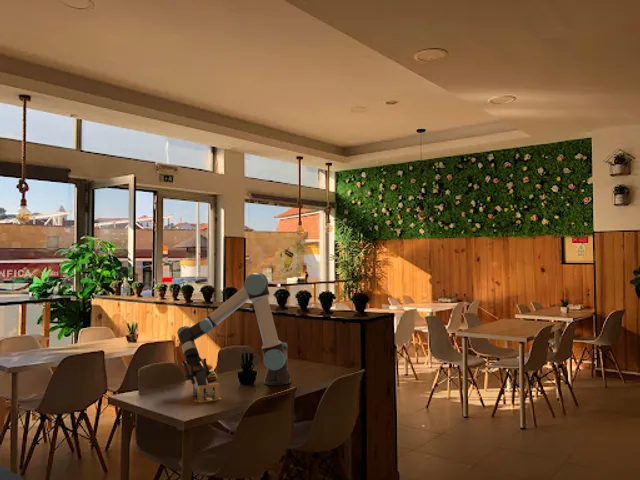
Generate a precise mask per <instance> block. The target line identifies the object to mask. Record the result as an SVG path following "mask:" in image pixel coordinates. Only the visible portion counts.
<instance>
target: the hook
mask: <svg viewBox="0 0 640 480" xmlns="http://www.w3.org/2000/svg"><path fill="white" fill-rule="evenodd" d="M193 377H195V378H196V381H197V384H198V386H199V385H206V371H205V370H203V369H201V370H198V369H195V370H194V369H193ZM192 388H193V389H192V390H193V391H192V394H193V395H195V396H197V390H196V389H195V386H194V384H192ZM204 396H206V397H207V398H208V397H210V398H212V399H214V398H215V391H213V390H212V391H211V393H210V392H208V391H207V389H206V388H204Z"/></svg>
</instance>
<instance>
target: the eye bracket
mask: <svg viewBox="0 0 640 480" xmlns="http://www.w3.org/2000/svg"><path fill="white" fill-rule="evenodd" d="M204 388H207V389H209V388H212V391H215V398H214V399H212V398H210V397H208V396H207V397H205V395H204ZM196 397H197V398H196V399H194V401H195V402H196V403H198V404H202V403H203V404H204V403H209V402H214V401H215V402H216V401H221V400H223V399H222V397H220V383H218V382H213V383H208V384H206V385H199V386H197V395H196Z"/></svg>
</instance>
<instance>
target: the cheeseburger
mask: <svg viewBox="0 0 640 480" xmlns="http://www.w3.org/2000/svg"><path fill="white" fill-rule="evenodd" d="M207 366H208V369H209V371H210V374H209V376H208V379H209V381H208V382H210V381H214V380H217V379H218V376H217V373H216V372H215V371H214V370H212V368H213V366H212V365H210V364H207ZM202 367H203V366H202ZM203 368H204V367H203ZM197 370H199V369H198V368H197ZM211 370H212V371H211Z"/></svg>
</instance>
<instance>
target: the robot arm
mask: <svg viewBox="0 0 640 480" xmlns="http://www.w3.org/2000/svg"><path fill="white" fill-rule="evenodd" d="M269 297H270V291H269V279H268V277H267V276H266V275H265V274H263V273H261V272H253V273H250V274H249V275H247V276H246V278H245V280H244V284H243V285H242V288H240V289H239V290H238V291H237V292H235V293H234V294H233V295H232V296H230V297H229V298H228V299H227V300H226V301H225V302H223V303H222V304H221V305H220V306H219V307H217V308H215V309H214V310H213V311H212V312H210V314H208V316H206V317H204V318H203V319H201V320H199V321H198V322H196V323H195V324H193V325H191V326H188V325H183V326H180V327H179V328H178V329H177V338H178V341H179V343H180V347H181V349H182V353H183V357H184V359H185V360H182V362H181V364H180V365H181V366H182V368H183V370H184V374H185V378H186V379H187V380H188V379H189V381H191V384H192V385H193V384H194V386H195V389H196V390H197V386H198V384H197V381H196V378H195V377H193V370H194V367H196V368H197V370H198V369H199V370H201V369H203V370H205V371H206V384H209V382H210V381H209V379H208V376H209V374H210V371H211V370H209V369H208V366H207V365H208V364H207V358H201V356H200V353H199V351H198V347H197V346H196V342H195V340H198V339H199V338H202V336H204V335H206V334H208V333H210V332H211V331H213V330H214V329H215V328H216V327H217V326H218V325H219V324H221V322H223V321H224V320H225V319H227V318H228V317H230V315H232V314H233V313H234V312H235V311H236V310H238V309H239V308H241V306H243V305H244V304H245V303H247V302H248V301H251V302H252V305H253V308H254V312H255V316H256V319H257V321H256V322H257V325H258V328H259V331H260V335H261V339H262V346H261V352H262V355H263V357H262V359H263V364H264V366H265V367H266V368H267V369H266V373H265V376H264V379H263V381H264V382H263V383H264V385H268V386H284V385H283V384H286V385H288V384H287V383H289V382H290V381H291V379H292V378H291V376H290V372H289V370H288V348H289V347H288V343H287V342H282V341H281V340H279V338H278V333H277V330H276V324H275V320H274V317H273V313H272V309H271V305H270V301H269ZM188 366H189V367H188ZM203 367H204V368H203ZM291 382H292V381H291ZM289 384H290V383H289ZM207 389H208V388H206V390H207Z"/></svg>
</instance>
